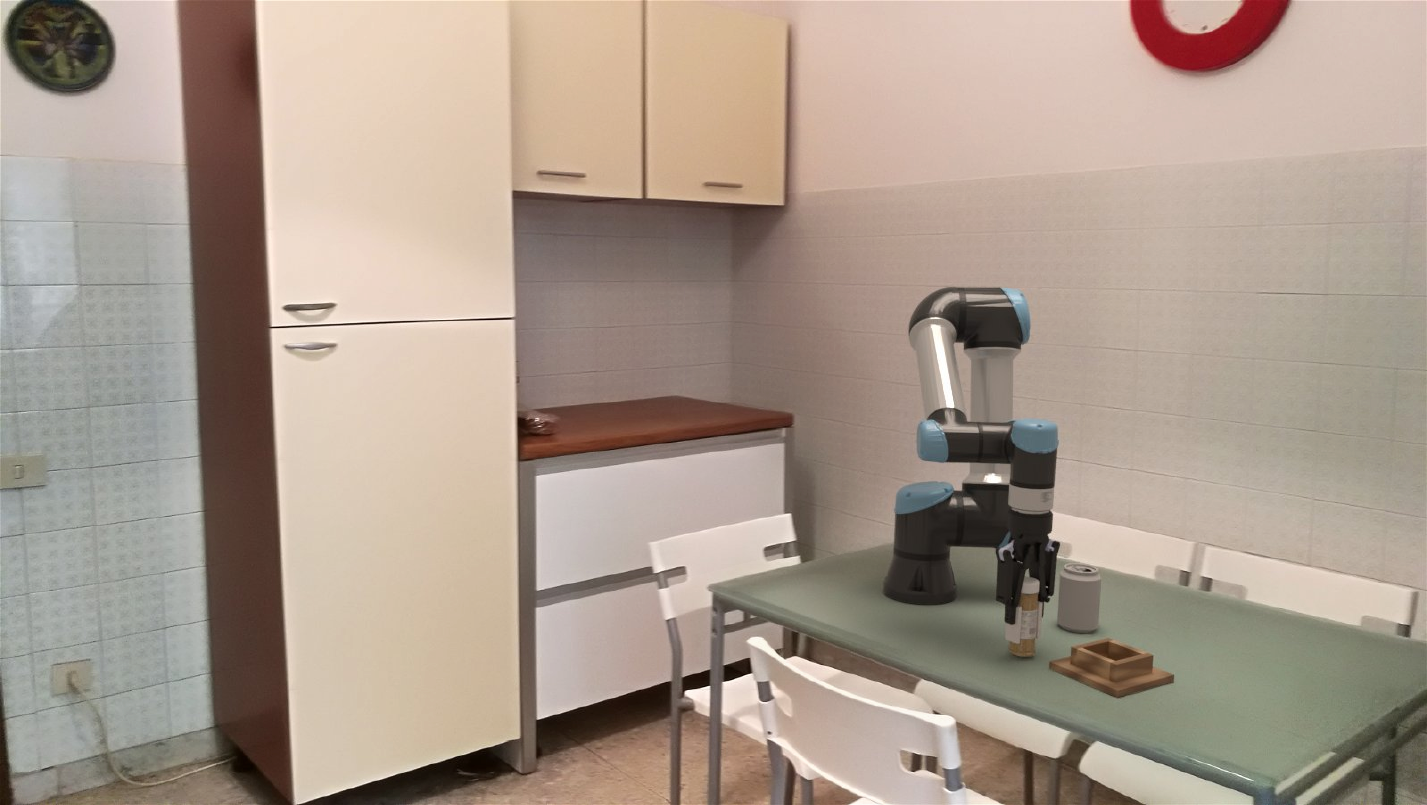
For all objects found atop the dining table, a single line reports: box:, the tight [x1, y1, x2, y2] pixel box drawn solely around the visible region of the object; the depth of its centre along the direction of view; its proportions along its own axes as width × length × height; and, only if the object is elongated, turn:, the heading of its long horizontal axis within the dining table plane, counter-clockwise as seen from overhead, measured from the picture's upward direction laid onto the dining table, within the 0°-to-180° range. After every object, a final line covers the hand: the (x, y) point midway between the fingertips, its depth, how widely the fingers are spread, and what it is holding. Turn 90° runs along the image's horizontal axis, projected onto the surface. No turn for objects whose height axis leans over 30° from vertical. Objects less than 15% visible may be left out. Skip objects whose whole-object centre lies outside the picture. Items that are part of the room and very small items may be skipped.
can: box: [1056, 562, 1102, 634], centre depth 197 cm, size 8×8×12 cm
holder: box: [1048, 637, 1175, 699], centre depth 174 cm, size 14×14×4 cm
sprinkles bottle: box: [1008, 575, 1039, 658], centre depth 181 cm, size 5×5×14 cm
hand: (1022, 638), depth 182 cm, fingers closed on sprinkles bottle, 4 cm apart
